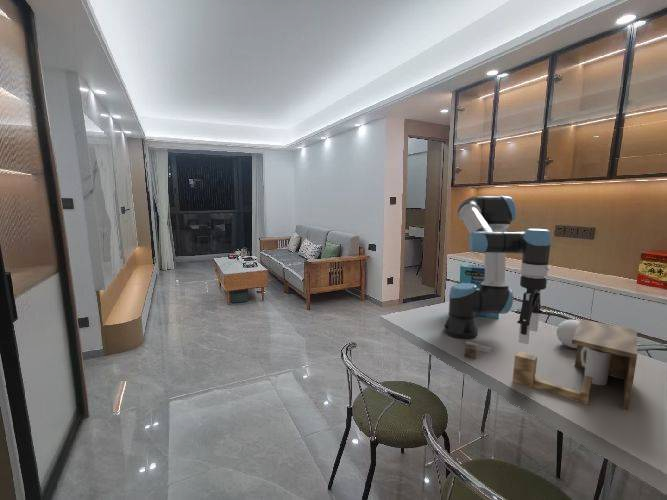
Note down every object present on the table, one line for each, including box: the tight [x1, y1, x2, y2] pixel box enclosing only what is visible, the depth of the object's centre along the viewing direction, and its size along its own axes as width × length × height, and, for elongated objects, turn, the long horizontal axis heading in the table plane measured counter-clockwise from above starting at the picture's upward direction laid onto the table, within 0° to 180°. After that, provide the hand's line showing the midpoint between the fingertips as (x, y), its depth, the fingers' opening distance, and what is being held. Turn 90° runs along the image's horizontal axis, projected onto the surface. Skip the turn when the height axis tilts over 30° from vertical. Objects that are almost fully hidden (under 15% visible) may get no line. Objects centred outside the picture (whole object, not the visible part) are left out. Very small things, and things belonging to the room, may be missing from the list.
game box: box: [459, 263, 500, 320], centre depth 181 cm, size 20×6×27 cm, turn 66°
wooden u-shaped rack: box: [512, 350, 593, 405], centre depth 115 cm, size 21×14×10 cm, turn 49°
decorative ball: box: [556, 319, 580, 349], centre depth 143 cm, size 12×12×12 cm
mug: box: [581, 347, 612, 386], centre depth 119 cm, size 10×7×12 cm, turn 7°
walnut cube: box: [464, 344, 477, 360], centre depth 136 cm, size 4×4×4 cm
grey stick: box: [465, 340, 492, 354], centre depth 143 cm, size 10×2×2 cm, turn 47°
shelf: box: [572, 318, 638, 412], centre depth 114 cm, size 16×24×18 cm, turn 139°
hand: (528, 336), depth 114 cm, fingers open, 13 cm apart
